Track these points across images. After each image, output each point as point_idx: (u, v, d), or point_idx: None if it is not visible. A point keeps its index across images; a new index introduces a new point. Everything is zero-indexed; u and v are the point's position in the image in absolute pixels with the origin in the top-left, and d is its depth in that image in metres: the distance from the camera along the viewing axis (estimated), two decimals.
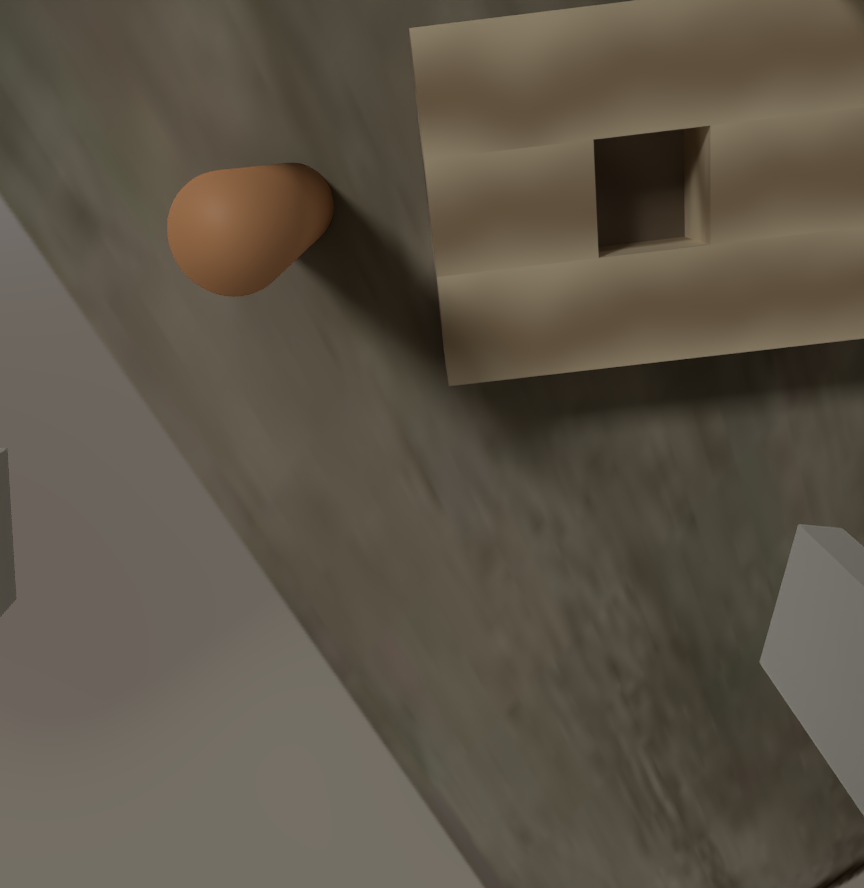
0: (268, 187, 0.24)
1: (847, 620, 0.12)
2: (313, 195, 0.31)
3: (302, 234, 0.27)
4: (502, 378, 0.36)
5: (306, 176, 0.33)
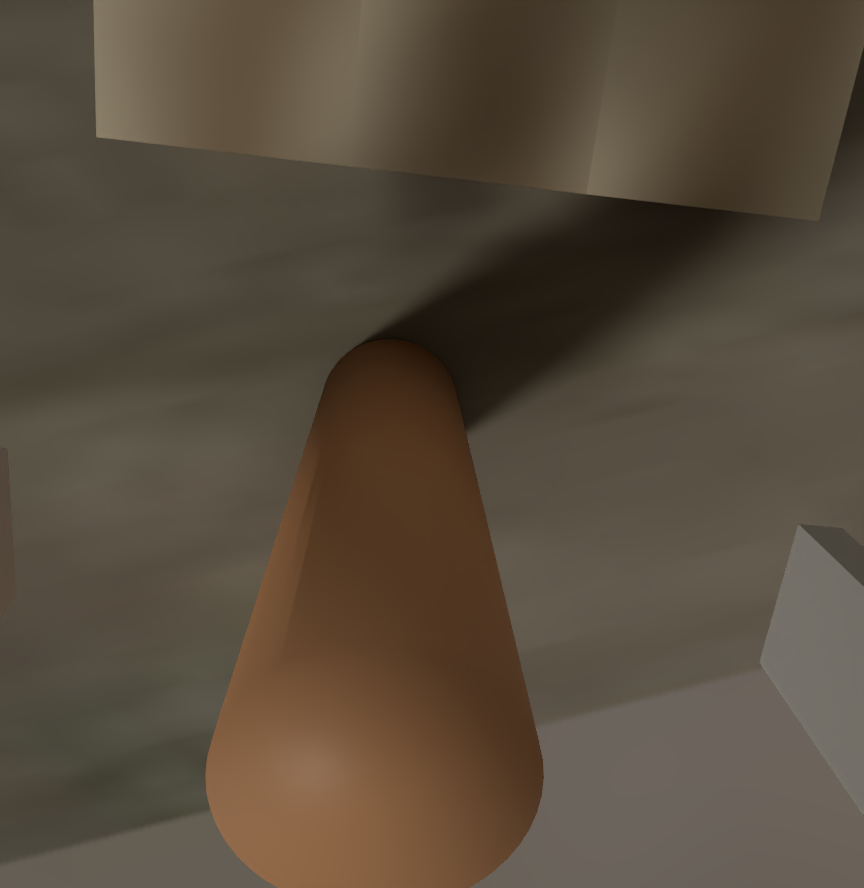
0: (272, 664, 0.08)
1: (846, 619, 0.12)
2: (365, 416, 0.15)
3: (427, 532, 0.11)
4: (848, 94, 0.16)
5: (335, 403, 0.17)
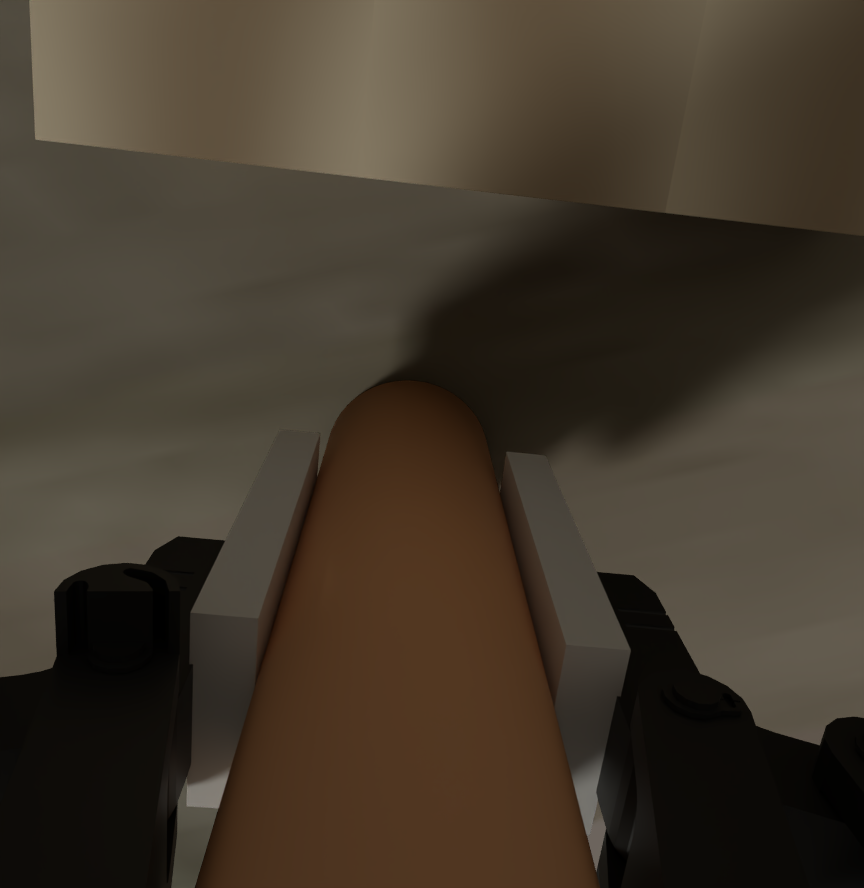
0: None
1: (513, 526, 0.14)
2: (378, 501, 0.12)
3: (469, 727, 0.07)
4: None
5: (340, 473, 0.14)
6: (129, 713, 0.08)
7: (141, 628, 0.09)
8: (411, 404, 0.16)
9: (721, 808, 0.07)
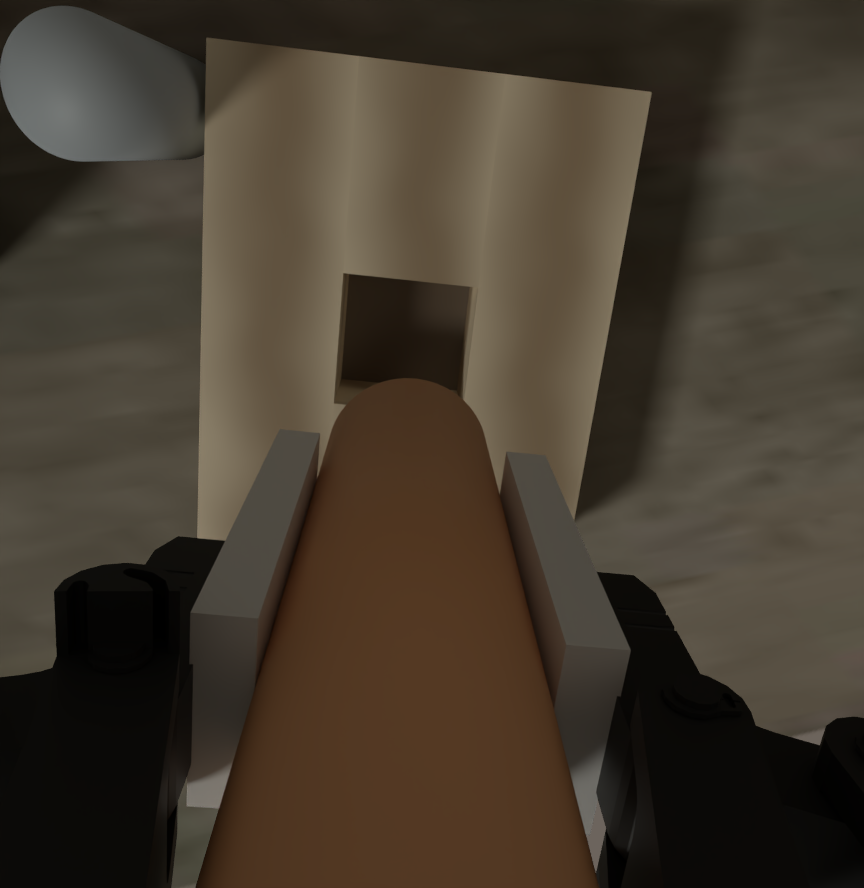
0: None
1: (513, 526, 0.14)
2: (379, 495, 0.12)
3: (467, 710, 0.07)
4: None
5: (341, 468, 0.14)
6: (129, 713, 0.08)
7: (141, 628, 0.09)
8: (411, 401, 0.16)
9: (721, 808, 0.07)
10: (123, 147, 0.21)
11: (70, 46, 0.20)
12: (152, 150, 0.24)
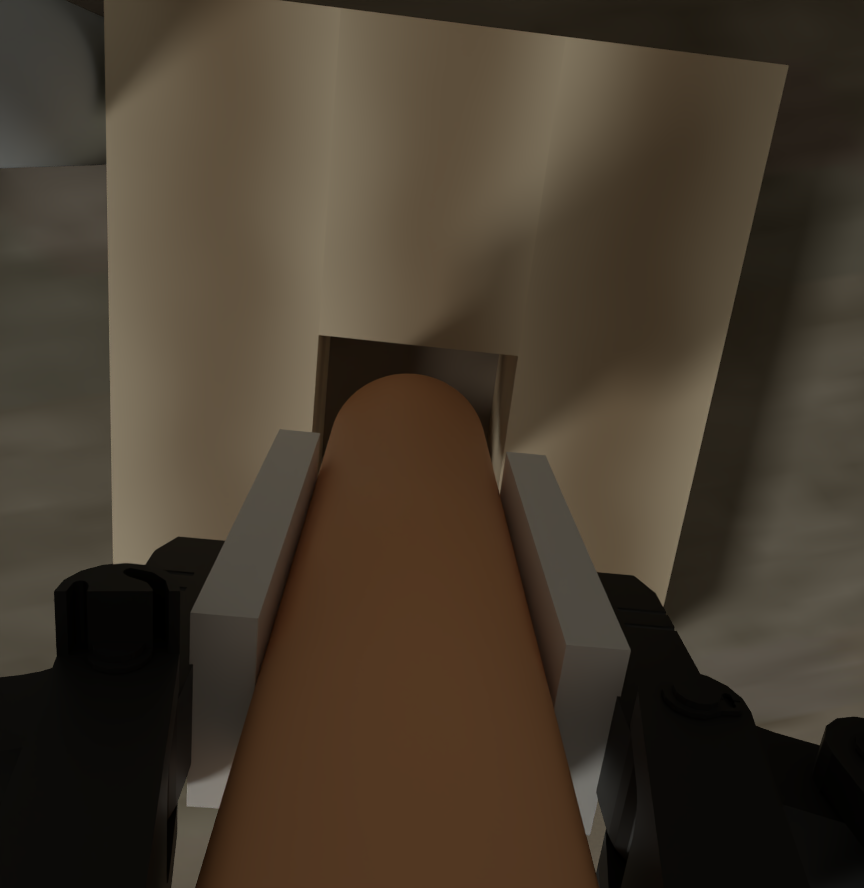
0: None
1: (513, 526, 0.14)
2: (380, 485, 0.12)
3: (464, 683, 0.08)
4: None
5: (343, 460, 0.14)
6: (129, 713, 0.08)
7: (141, 628, 0.09)
8: (411, 396, 0.17)
9: (721, 808, 0.07)
10: None
11: None
12: (6, 152, 0.15)
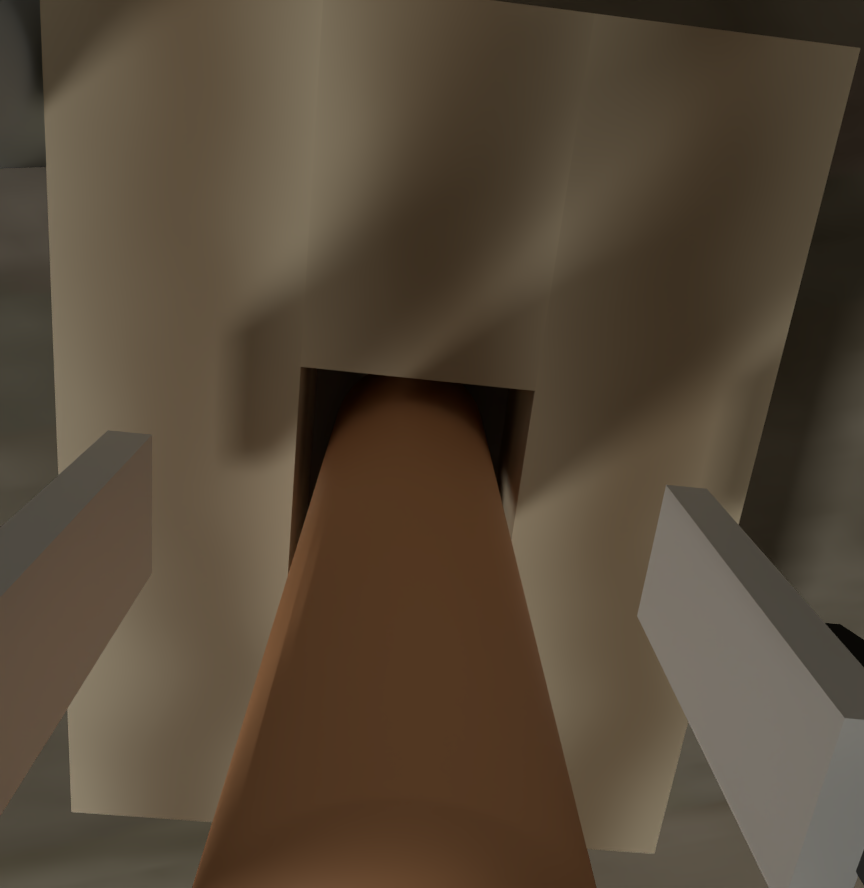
0: (261, 825, 0.06)
1: (694, 567, 0.13)
2: (382, 460, 0.13)
3: (457, 623, 0.09)
4: (671, 777, 0.19)
5: (348, 440, 0.15)
6: None
7: None
8: (412, 382, 0.18)
9: None
10: None
11: None
12: None
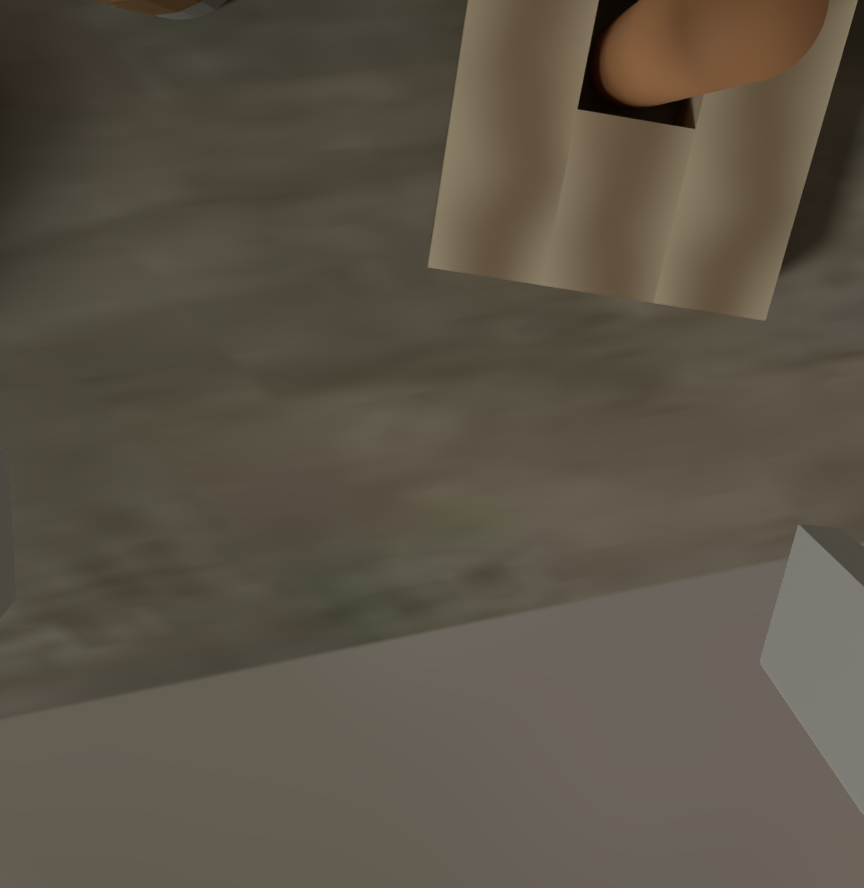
0: None
1: (847, 620, 0.12)
2: None
3: None
4: (780, 263, 0.33)
5: None
6: None
7: None
8: None
9: None
10: None
11: None
12: None
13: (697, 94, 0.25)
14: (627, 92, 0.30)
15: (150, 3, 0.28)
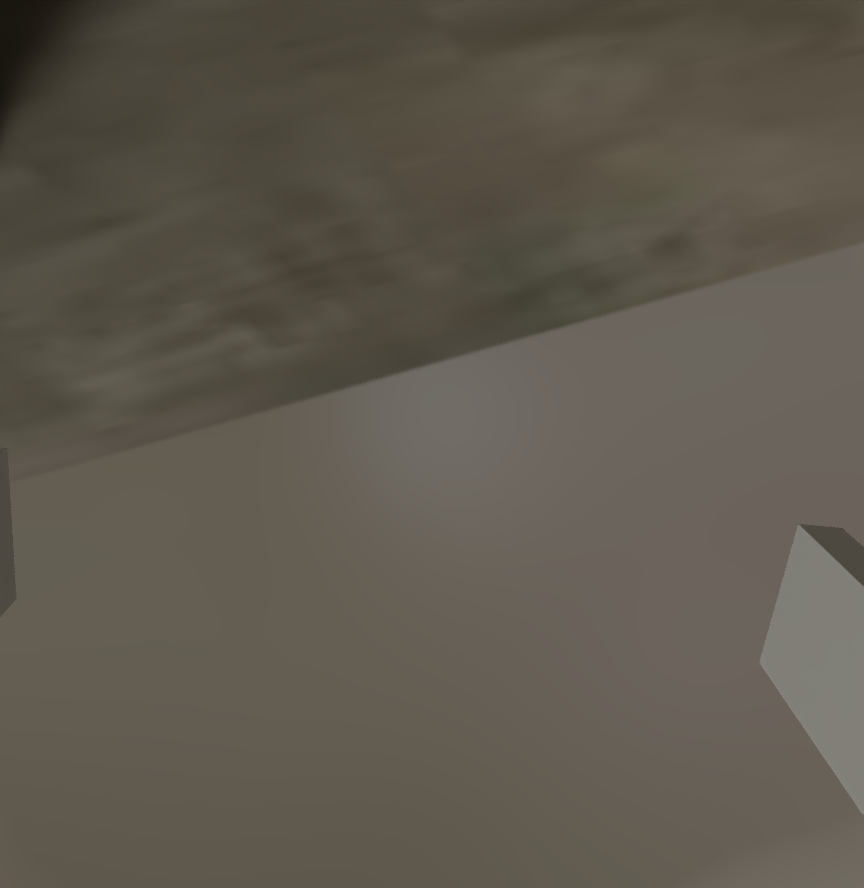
0: None
1: (847, 620, 0.12)
2: None
3: None
4: None
5: None
6: None
7: None
8: None
9: None
10: None
11: None
12: None
13: None
14: None
15: None
